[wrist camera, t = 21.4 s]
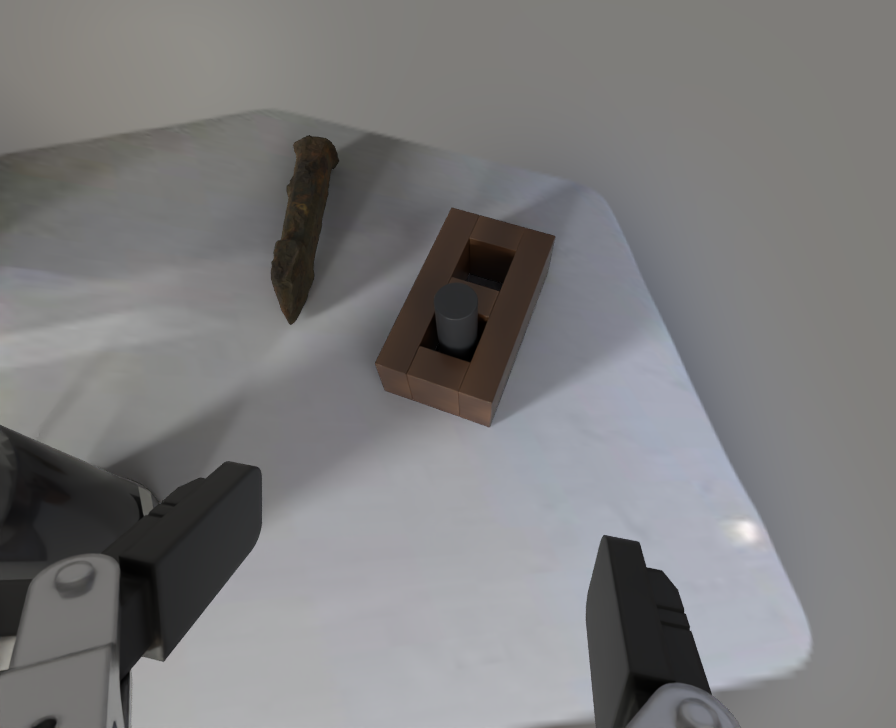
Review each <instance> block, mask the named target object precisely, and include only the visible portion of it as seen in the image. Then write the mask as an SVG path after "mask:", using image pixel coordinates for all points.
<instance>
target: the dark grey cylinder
mask: <svg viewBox="0 0 896 728" xmlns="http://www.w3.org/2000/svg"><path fill="white" fill-rule="evenodd" d="M434 309H435V317H436V326H437V334H438V343H439V352H440V353H443V354H446V355H449V356H452V357H455V358H458V359H461V360H464V361H467V362H470V363H471V360H472V358H473V356H474V353H475V351H476V348H477V328H478V297H477V294H476V293H475V291H474V290H473V289H472V288H471V287H470V286H468V285H466V284H463V283H449V284H447V285H444V286H443V287H441V288H440V289H439V290H438V291H437V293H436V295H435V297H434Z"/></svg>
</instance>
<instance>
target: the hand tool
mask: <svg viewBox="0 0 896 728" xmlns="http://www.w3.org/2000/svg"><path fill="white" fill-rule="evenodd" d="M293 146H294V151H295V153H296V158H297V159H296V164H295V168H294V175H293V177H292V179H291V180H290V184H289V185H287V194H288V197H289V199H288V205H287V209H286V214H285V220H284V225H283V231H282V237H281V240H279V241H277V242H276V244H275V249H274V259H273V261H272V262H271V263H272V268H271V280H272V284H273V287H274V291H275V293H276V296H277V298H278V301H279V304H280V307H281V310H282V312H283V313H284V315H285V317H286V319H287V321H288V323H289V324H290V325H291V324H293V323H294V322H295V321H296V320H297V318H298V316H299V314H300V312H301V310H302V308H303V306H304V304H305V302H306V300H307V297H308V292H309V290H310V288H311V285H312V282H313V280H314V270H313V267H314V258H315V253H316V248H317V244H318V240H319V235H320V232H321V228H322V218H323V214H324V209H325V206H326V201H327V197H328V188H329V181H330V174H331V170H332V169H334V168H335V167H336V166H337V164H338V162H339V159H338V155H337V151H336V148H335V146H334V145H333V144H332V142H331V141H329V140H328V139H326V138H322V137H312V136H310V135H309V136H306V137H304V138H302V139H301V140H298V141H297V142H295V143H294V145H293Z"/></svg>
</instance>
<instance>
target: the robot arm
mask: <svg viewBox="0 0 896 728" xmlns="http://www.w3.org/2000/svg"><path fill="white" fill-rule="evenodd" d="M261 526H262V474H261V470H260V468H259V467H256V466H251V465H245V464H240V463H235V462H230V461H227V462H224V463H223V464H222V465H221V466H220V467H219V468H217V469H216V470H215V471H214V472H213V473H212V474H211V475H209V476H208V477H207V478H206V479H205V478H198V479H196V480H194V481H191V482H189V483H187V484H185V485H183V486H180V487H178V488H177V489H176V490H175V491H173V492H172V493H171V494H170V495H169V496H167V497H166V498H165V499H164V500H163V501H162V503H161V504H158V502H157V500H156V498H155V497H154V495H153V494H152V493H151V492H150V491H149V490H148V489H147V488H145V487H144V486H142V485H141V484H139V483H137V482H134V481H132V480H129V479H127V478H123V477H119V476H116V475H114V474H112V473H110V472H108V471H106V470H103V469H101V468H99V467H96V466H94V465H92V464H89V463H87V462H85V461H83V460H80V459H78V458H76V457H73V456H71V455H69V454H66V453H64V452H62V451H59V450H57V449H55V448H52V447H50V446H48V445H45V444H43V443H41V442H38V441H36V440H34V439H31V438H29V437H27V436H25V435H22V434H20V433H18V432H15V431H13V430H11V429H8V428H6V427H4V426H1V425H0V728H132V672H131V668H132V667H133V666H134V665H135V664H136V663H137V661H138V660H139V659H140V658H141V657H146V658H150V659H154V660H159V661H163V662H164V661H165V660H166V658H167V657H168V656H169V654H170V653H171V652H172V651H173V649H174V648H175V647H176V646H177V644H178V643H179V642H180V641H181V639H182V638H183V637H184V635H185V634H186V633H187V632H188V630H189V629H190V628H191V627H192V625H193V624H194V623H195V621H196V620H197V619H198V618H199V616H200V615H201V614H202V613H203V611H204V610H205V609H206V608H207V606H208V605H209V604H210V602H211V601H212V600H213V599H214V597H215V596H216V595H217V594H218V592H219V591H220V590H221V589H222V587H223V586H224V585H225V583H226V582H227V581H228V580H229V578H230V577H231V576H232V575H233V573H234V572H235V571H236V570H237V568H238V567H239V566H240V564H241V563H242V562H243V561H244V559H245V558H246V557H247V556H248V554H249V553H250V552H251V551H252V549H253V548H254V546H255V544H256V542H257V540H258V538H259V535H260V531H261ZM586 627H587V638H588V649H589V660H590V670H591V681H592V692H593V702H594V713H595V724H596V728H741V727H740V725H739V723H738V722H737V720H736V718H735V717H734V716H733V714H732V713H731V712H730V711H729V709H728V708H726V707H725V706H724V705H723V704H722V703H721V702H720V701H719V700H718V699H716V698H715V697H714V696H712V694H711V690H710V687H709V684H708V681H707V678H706V675H705V672H704V669H703V666H702V663H701V660H700V657H699V653H698V650H697V647H696V644H695V641H694V638H693V635H692V632H691V631H690V626H689V623H688V620H687V616H686V614H684V607H683V604H682V601H681V598H680V595H679V592H678V589H677V588H676V587H675V586H674V585H673V583H672V582H671V581H670V580H669V578H668V577H667V576H666V575H665V573H664V572H663V571H662V570H657V569H652V568H647V567H646V564H645V561H644V557H643V553H642V549H641V546H640V543H639V542H638V541H633V540H628V539H622V538H617V537H612V536H607V535H604V536H603V537H602V539H601V542H600V546H599V550H598V554H597V558H596V562H595V566H594V570H593V574H592V578H591V582H590V586H589V590H588V595H587V603H586Z"/></svg>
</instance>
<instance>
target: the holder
mask: <svg viewBox="0 0 896 728" xmlns="http://www.w3.org/2000/svg"><path fill="white" fill-rule="evenodd" d="M554 241H555V236H554V235H550V234H546V233H543V232H539V231H535V230H532V229H528V228H525V227H521V226H517V225H514V224H510V223H506V222H503V221H499V220H495V219H492V218H488V217H484V216H481V215H477V214H474V213H470V212H466V211H463V210H459V209H455V208H451V210H450V212H449V214H448V216H447V218H446V220H445V222H444V224H443V226H442V228H441V230H440V232H439V234H438V236H437V238H436V240H435V242H434V244H433V246H432V248H431V250H430V252H429V255H428V257H427V259H426V261H425V263H424V265H423V267H422V269H421V271H420V273H419V275H418V277H417V279H416V281H415V283H414V285H413V287H412V289H411V291H410V293H409V295H408V297H407V299H406V301H405V303H404V305H403V307H402V309H401V311H400V313H399V315H398V317H397V319H396V321H395V323H394V325H393V327H392V330H391V332H390V334H389V336H388V338H387V340H386V342H385V344H384V346H383V348H382V350H381V352H380V354H379V356H378V358H377V360H376V362H375V365H376V368H377V371H378V373H379V376H380V379H381V382H382V384H383V387H384V390H385V391H388V392H391V393H394V394H396V395H399V396H402V397H405V398H408V399H411V400H414V401H417V402H420V403H422V404H425V405H428V406H431V407H434V408H437V409H439V410H442V411H445V412H448V413H451V414H454V415H456V416H460V417H462V418H465V419H467V420H470V421H473V422H476V423H479V424H482V425H485V426H487V427H490V426H491V423H492V420H493V418H494V415H495V412H496V410H497V407H498V404H499V402H500V399H501V396H502V394H503V391H504V388H505V386H506V383H507V380H508V378H509V375H510V372H511V370H512V367H513V364H514V362H515V359H516V356H517V354H518V351H519V348H520V346H521V343H522V340H523V338H524V335H525V332H526V329H527V327H528V324H529V321H530V319H531V316H532V313H533V311H534V308H535V305H536V303H537V300H538V297H539V295H540V292H541V289H542V287H543V284H544V281H545V279H546V276H547V273H548V269H549V265H550V260H551V255H552V251H553V246H554ZM469 273H470V274H473V275H476V276H480V277H483V278H486V279H490V280H493V281H496V282H500V283H503V285H502V288H501V290H500V292H499V291H498V290H494V289H491V288H488V287H484V286H481V285H478V284H474V283H471V282H468V281H466V280H467V278H468V276H469ZM449 283H463V284H466V285H468V286H470V287H471V288H472V289H473V290H474V291H475V293H476V294H477V297H478V328H477V344H478V346H477V348H476V351H475V353H474V356H473V358H472V360H471V363H470V362H467V361H464V360H461V359H458V358H455V357H452V356H449V355H446V354H443V353H440V352H437V351H435V350H436V347H437V345H438V334H437V326H436V317H435V309H434V297H435V295H436V293H437V291H438V290H439V289H440V288H441V287H443V286H444V285H447V284H449Z"/></svg>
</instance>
